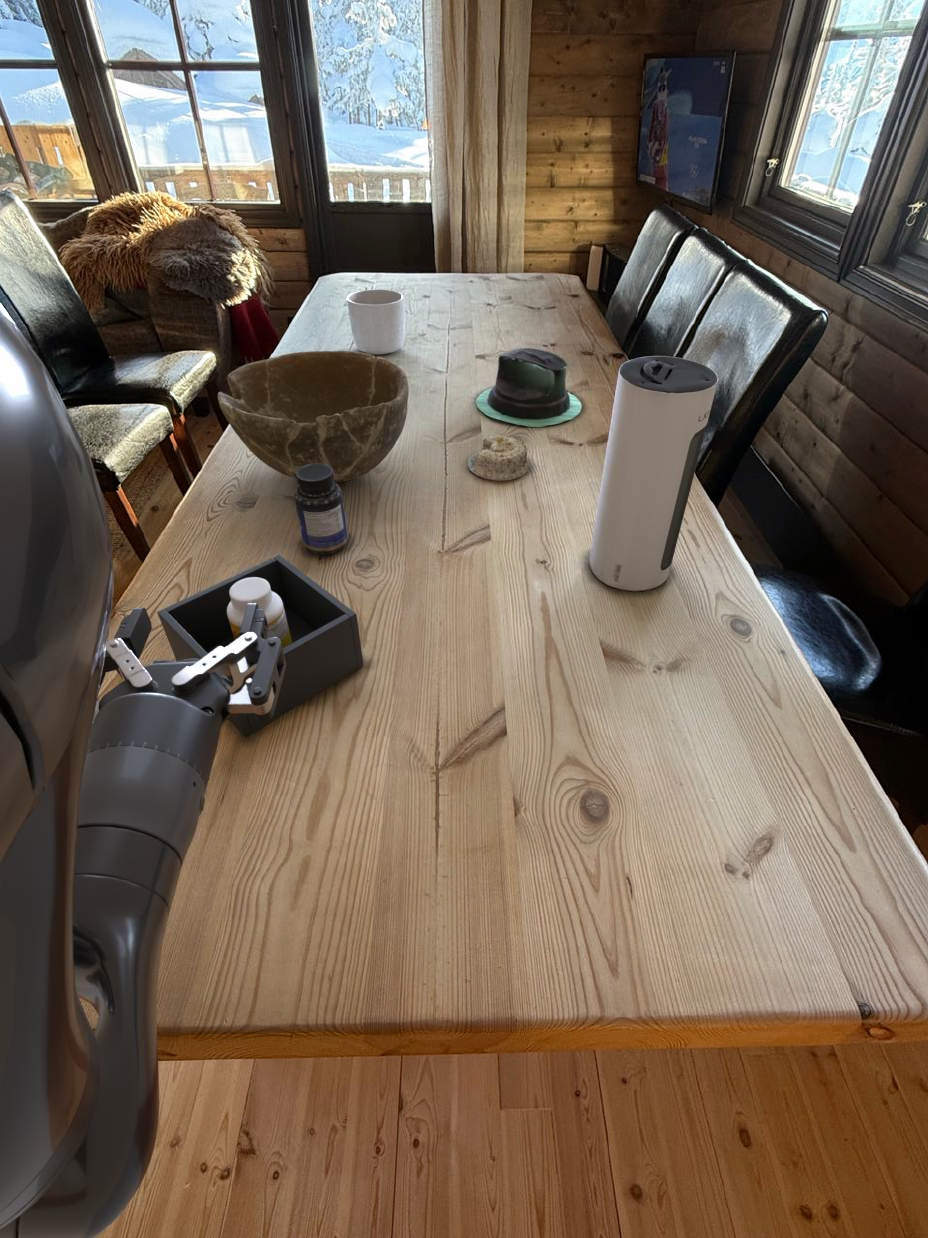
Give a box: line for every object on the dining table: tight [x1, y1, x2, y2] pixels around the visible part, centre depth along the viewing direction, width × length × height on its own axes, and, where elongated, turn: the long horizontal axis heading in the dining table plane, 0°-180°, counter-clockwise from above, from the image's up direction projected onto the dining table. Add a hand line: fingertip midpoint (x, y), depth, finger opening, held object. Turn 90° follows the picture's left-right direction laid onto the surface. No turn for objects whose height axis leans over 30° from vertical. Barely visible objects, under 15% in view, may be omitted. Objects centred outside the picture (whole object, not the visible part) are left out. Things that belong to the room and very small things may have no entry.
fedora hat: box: [475, 347, 583, 428], centre depth 124 cm, size 15×19×20 cm
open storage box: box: [156, 554, 365, 739], centre depth 70 cm, size 15×15×8 cm
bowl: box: [217, 350, 410, 484], centre depth 100 cm, size 28×27×15 cm
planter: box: [346, 288, 406, 355], centre depth 145 cm, size 12×12×11 cm
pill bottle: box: [293, 463, 349, 556], centre depth 86 cm, size 6×6×11 cm
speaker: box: [588, 355, 719, 592], centre depth 77 cm, size 11×10×26 cm
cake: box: [467, 434, 530, 482], centre depth 105 cm, size 10×10×5 cm
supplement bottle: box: [227, 577, 292, 659], centre depth 69 cm, size 6×6×10 cm
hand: (199, 613), depth 51 cm, fingers open, 8 cm apart
